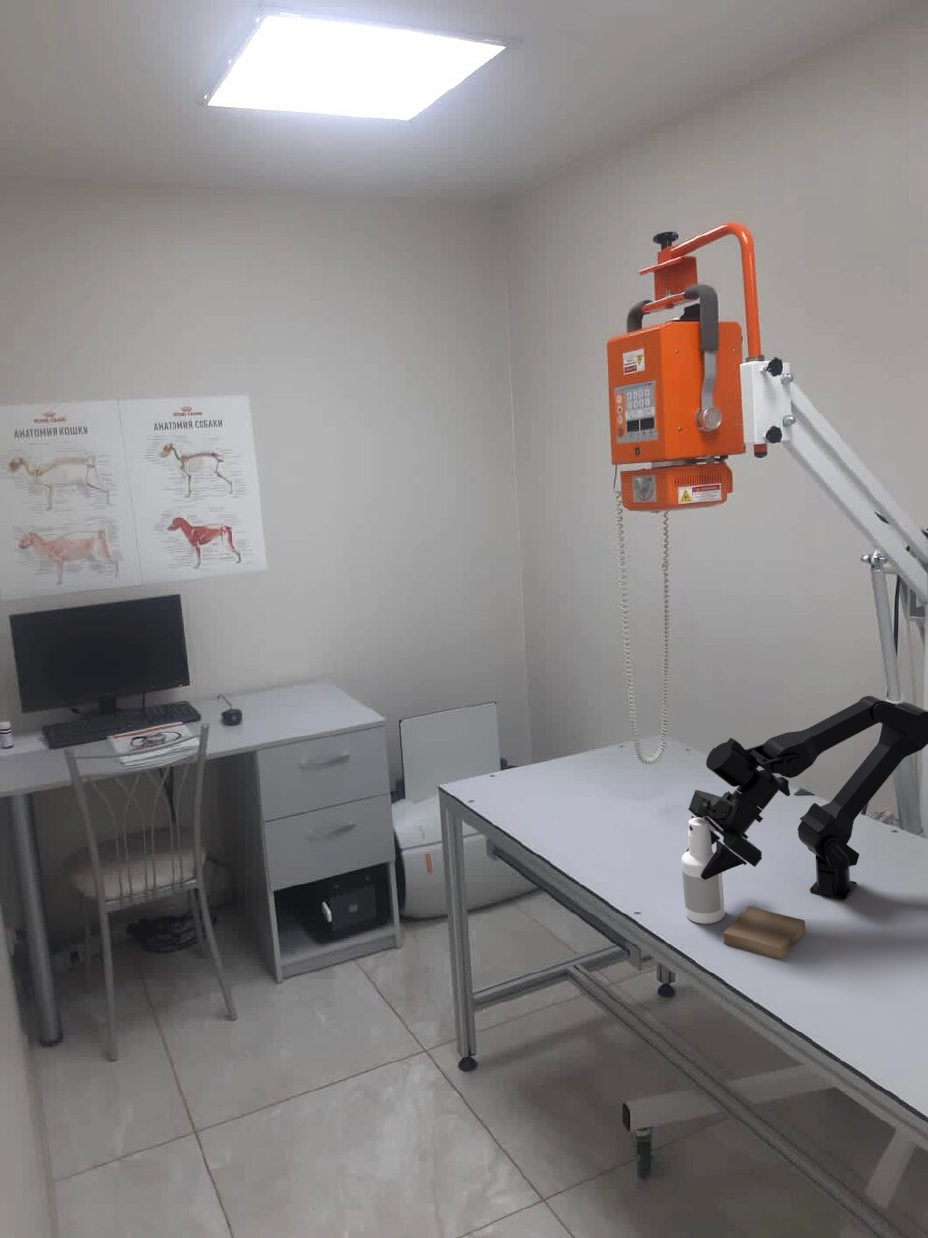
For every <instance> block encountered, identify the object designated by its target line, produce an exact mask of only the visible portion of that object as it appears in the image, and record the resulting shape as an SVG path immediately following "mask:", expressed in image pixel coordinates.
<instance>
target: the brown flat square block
mask: <svg viewBox="0 0 928 1238" xmlns="http://www.w3.org/2000/svg"><path fill="white" fill-rule="evenodd" d="M805 932H806V921H805V920H804V919H800V918H797V917H794V916H790V915H785V914H781V913H777V912H772V911H769V910H765V909H761V908H756V907H753V906H747V908H745V910H744V911H743V912H741V914H740V915H739V916H738V917H737V918H736V919H735V920H734V921H732V923H731V924H730V925H729V926H728V927H727V928H726V930H724V932H723V943H724V945H728V946H731V947H735V948H740V949H742V950H746V951H750V952H753V953H757V954H761V955H764V956H767V957H770V958H771V957H772V958H775V959H779V960H781V961H782V960H783V959H784V957H785V956H786V955H787V954H788V953H789V951H790V950H791V949H792V948H793V946H794V945H795V944H796V943H797V941H798V940H799V939H800V938H801V937H802V936H803V934H804V933H805Z"/></svg>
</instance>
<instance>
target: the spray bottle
mask: <svg viewBox="0 0 928 1238" xmlns="http://www.w3.org/2000/svg"><path fill="white" fill-rule="evenodd" d="M687 838H688V839H687V840H688V845H687V846H688V847H687V849H688V848H689V851H688V852H687V851H686V852H684V854H682V856H681V861H680V862H681V871H682V874H681V875H682V887H683V897H684V898H683V899H684V910H685V916H686V917H687V918H688V920H690V921H691V922H694V923H697V924H701V925H707V924H715V923H718V922H720V921H721V920H722V919H724V916H725V913H726V912H725V897H724V883H723V872H722V873H719V874H717V875H715V876H713V877H711V878H709V879H706V880H704V879H703V878H701V874H702V872H703V870H704V868H705V867H706V865H707V864H708V862H709V861H710V859H711V858H712V856H713V855H714V853H715V852H716V850H713V845H712V843H711V833H710V831H709V823H708V821H706V820H704V819H702V818H700V817H697V818H692V819H691V818H690V819H689V820H688V832H687Z"/></svg>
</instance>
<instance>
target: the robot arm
mask: <svg viewBox="0 0 928 1238" xmlns="http://www.w3.org/2000/svg"><path fill="white" fill-rule="evenodd" d="M879 723H880V724H882V730H881V736H880V740H879V741H878V743H877V744H876V745H875V746H874V748H873V749H872V750H871V751H870V752H869V753H868V755H867V756H866V758H865V759H864V760H863V761H862V763H861V764H859V766H858V767H857V769H855V771H854V773H853V774H852V775H851V776H850V777H849V779H848V780H847V781H846V783H844V785H843V786H842V787H841V789H839V791H838V792H837V794H836V795H835V796H834V797H833V798H832V799H831V801H829V802H828V803H826V804H823V805H819V804H818V803H816V802H813V804H811V805H810V807H809V808H808V810H807V812H806V813H805V814H804V815H803V816H801V817H800V818H799V820H800V823H799V824H798V827H797V835H798V839H799V841H801V843H802V844H803V845H805V847H807V849H808V851H810V852H812V853H813V854H814V855H815V873H816V874H815V875H816V880H815V882H814V883H813V884H812V885H811V886H810V888H809V892H811V893H814V894H817V895H822V896H827V897H830V898H836V899H839V900H847V898H848V897H849V896H850V894H851V893H852V892H853V890H855V889H856V887H858V886H857V885H858V883H857V881H854V880H851V877H850V876H851V874H850V871H851V870H850V868H851V867H852V866H853V867H854V866H857V864H858V861H859V857H860V853H859V852H857V851H856V850H855V849H853V848H852V847H851V846H850V845H848V843H849V841H850V840H851V839H852V834H853V827H854V822H855V820H856V818H857V817H858V816H859V815H860V813H861V812H862V811H863V809H864V808H865V807H866V806H867V805H868V804H869V802H870V801H871V799H872V798H873V797H874V796H875V795H876V794H877V792H878V791H879V790H880V788H881V787H882V786H883V785H884V783H885V782H886V781H887V780H888V779H889V777H890V776H892V774H893V772H894V771H895V770H896V769H897V768H898V766H900V764H901V762H903V760H904V759H905V758H907V757H909V756H911V755H913V754H915V753H916V754H917V752H919V751H920V752H921V751H922V750H923V749H924V748H925V747H926V746H928V710H926V709H924V708H922V707H919V706H916V705H915V704H913V703H910V702H902V703H897V704H895V703H893V702H890V701H887V700H883V699H879V698H878V697H875V696H874V695H865V696H863V697H861V698H860V699H859V700H858V701H857V702H855V703H853V704H851V705H850V706H847V707H846V708H844V709H842V710H840V711H838V712H836V713H834V714H833V715H830V716H829V717H827V718H824V720H821V721H819V722H818V723H815V724H813V725H812V726H810V727H808V728H806V729H802V730H797V731H790V732H789V731H788V732H785V733H782V734H779V735H775V736H773V737H770V738H768V739H767V740H766V741H765V742H764V743H762V744H759V745H756V746H754V747H750V748H747V749H745V747H743V745H742V744H741V743H740V742H738V741H737V740H736V739H734V738H733V737H729V739H728V740H727V741H726V742H723V743H720V744H718V745H716V747H713V748H712V749H711V750H710V752H709V753H708V755H707V758H706V763H705V764H706V767H707V769H708V770H709V771H711V772H712V773H713V774H715V775H716V776H718V777H719V778H720V779H722V780H723V781H724V782H725V783H727V785H729V786H731V787H733V788H736V789H735V790H734V791H733V792H732V793H731V792H730V791H729V790H728V791H727V792H726V791H725V792H724V794H723V795H722V796H719V795H717V794H713V793H709V792H706V791H703V790H702V791H701V790H700V789H699V790H698V789H695V790H694V793H693V796H692V797H691V798H692V799H691V801H690V803H689V807H688V808H687V810H688V811H689V812H690V813H691V814H693V815H694V816H693V815H691V817H690V819H692V818H697V817H700V818H702V819H704V820H706V821H708V823H709V831H710V833H711V843H712V846H714V844H715V846H716V847H715V848H716V850H715V853H714V855H713V856H712V858H711V859H710V861H709V862H708V864H707V865H706V867H705V868H704V870H703V872H702V874H701V878H703V879H704V880H706V879H709V878H711V877H713V876H715V875H717V874H719V873H722V874H723V873H725V872H726V871H728V870H731V869H733V868H736V867H738V866H741V865H744V866H746V865H748V864H750V865H751V866H752V867H754V868H756V867H757V866H758V864H759V863H761V860H762V859H763V857H762V850H761V849H759V848H758V847H757V846H756V845H755V844H753V843H752V842H751V841H750V840H748V838H749V835H747V834H746V833H747V831H748V830H749V829H750V827H751V826H752V825H753V823H755V822H756V821H757V822H758V823H761V822H762V821H763V819H764V818H763V817H762V816H761V813H762V812H763V811H764V810H765V809H766V807H767V806H768V805H769V803H770V802H771V801H772V799H773V798H774V797H775V796H776V795H777V793H778V792H781V793H782V794H783V795H785V796H786V797H790V796H791V792H790V791H791V790H790V787H789V780H788V779H794V778H795V777H798V776H799V775H801V774H802V773H804V772H805V771H806V770H808V769H809V768H810V767H812V766H813V765H814V764H815V762H816V760H817V758H818V757H819V756H821V754H823V753H825V752H826V751H828V750H830V749H832V748H833V747H835V746H837V745H839V744H841V743H843V742H845V741H847V740H848V739H850V738H852V737H854V736H856V735H858V734H860V733H861V732H863V731H865V730H867V729H869V728H872V727H874V726H875V725H876V724H879ZM758 767H760V768H762V769H760V770H759V769H758ZM775 774H779V775H780V777H779V776H776V775H775ZM787 778H788V779H787ZM715 831H716V832H717V833H719V834H720V835H721V836H722V837H723V838H722V842H721V841H720V839H721V837H720V836H719V835H718V834H717V833H716V832H715ZM688 851H689V848H688V847H687V849H686V852H688Z"/></svg>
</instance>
